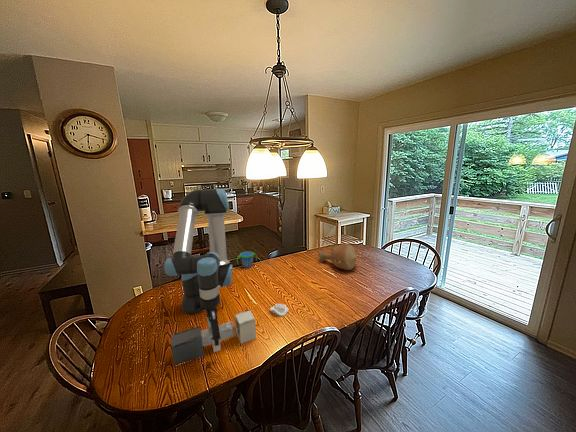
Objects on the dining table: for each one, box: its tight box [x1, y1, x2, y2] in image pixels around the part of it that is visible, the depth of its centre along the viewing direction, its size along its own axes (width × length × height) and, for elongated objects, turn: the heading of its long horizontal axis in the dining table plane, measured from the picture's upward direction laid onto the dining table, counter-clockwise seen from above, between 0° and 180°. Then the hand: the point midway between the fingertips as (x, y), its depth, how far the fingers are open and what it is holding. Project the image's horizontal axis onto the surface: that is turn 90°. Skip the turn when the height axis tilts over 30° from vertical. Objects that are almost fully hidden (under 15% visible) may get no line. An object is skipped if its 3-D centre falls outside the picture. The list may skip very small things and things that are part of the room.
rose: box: [269, 303, 290, 317], centre depth 125 cm, size 10×4×10 cm
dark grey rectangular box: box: [170, 326, 205, 366], centre depth 96 cm, size 11×7×10 cm, turn 117°
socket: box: [234, 309, 257, 345], centre depth 107 cm, size 7×8×10 cm
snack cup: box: [236, 250, 258, 269], centre depth 180 cm, size 16×10×10 cm
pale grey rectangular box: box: [200, 319, 237, 347], centre depth 99 cm, size 23×5×5 cm, turn 117°
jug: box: [317, 243, 357, 271], centre depth 176 cm, size 20×19×30 cm
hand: (214, 339), depth 101 cm, fingers open, 13 cm apart
